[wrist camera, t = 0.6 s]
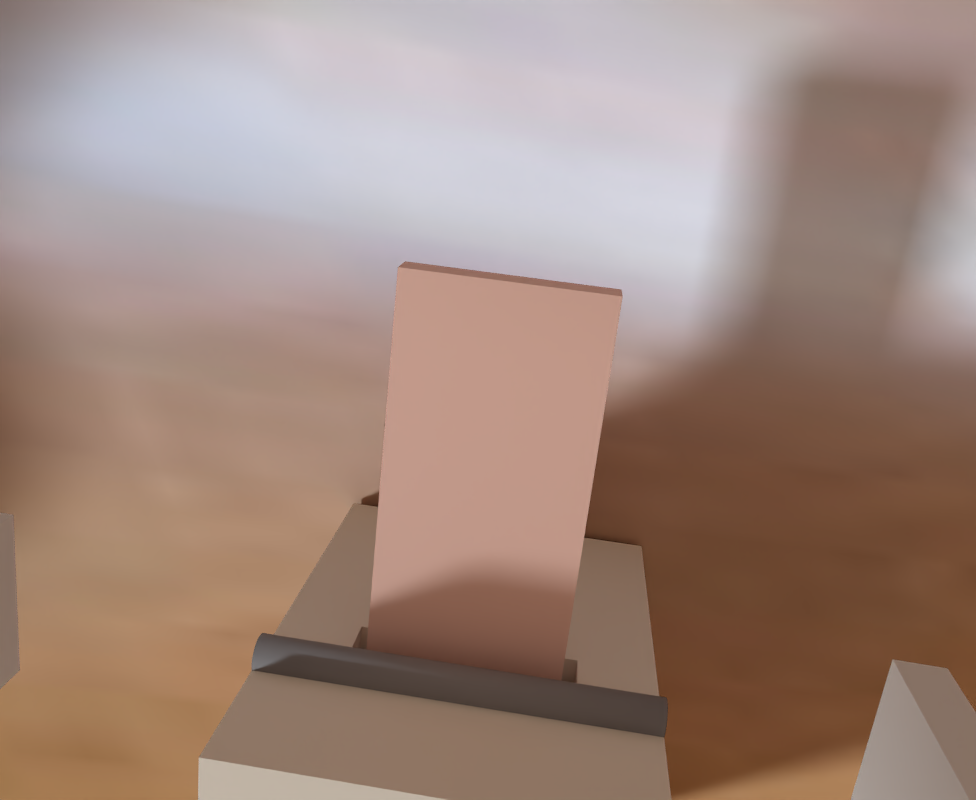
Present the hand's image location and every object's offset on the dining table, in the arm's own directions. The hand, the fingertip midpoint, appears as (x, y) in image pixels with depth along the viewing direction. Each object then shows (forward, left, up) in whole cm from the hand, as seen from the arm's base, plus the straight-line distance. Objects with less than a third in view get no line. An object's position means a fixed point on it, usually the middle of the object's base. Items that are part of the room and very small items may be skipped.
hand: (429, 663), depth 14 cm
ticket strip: (0, -8, -13) cm, 16 cm away
